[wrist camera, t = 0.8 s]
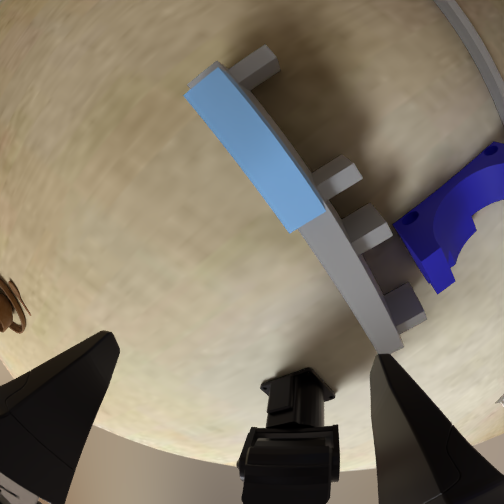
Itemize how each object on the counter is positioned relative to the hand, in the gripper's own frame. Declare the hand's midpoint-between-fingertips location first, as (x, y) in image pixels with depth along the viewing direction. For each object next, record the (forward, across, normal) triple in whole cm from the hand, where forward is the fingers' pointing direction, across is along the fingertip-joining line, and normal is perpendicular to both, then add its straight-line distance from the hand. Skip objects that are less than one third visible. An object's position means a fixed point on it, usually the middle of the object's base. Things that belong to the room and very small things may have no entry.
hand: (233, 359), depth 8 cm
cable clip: (+14, -15, -2) cm, 21 cm away
